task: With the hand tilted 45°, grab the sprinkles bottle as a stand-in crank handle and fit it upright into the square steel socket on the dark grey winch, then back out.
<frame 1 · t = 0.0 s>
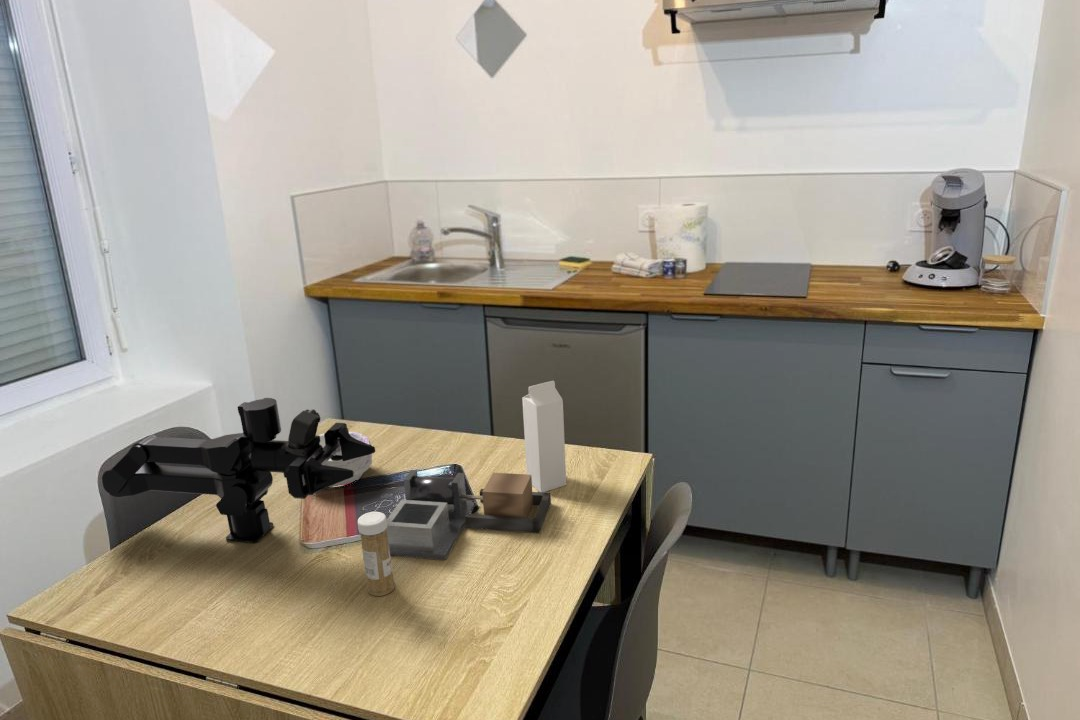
hand: (364, 461, 138), 17 cm above the table, tool horizontal, fingers open, 9 cm apart
milk: (546, 484, 162), on the table
crate bay: (509, 515, 151), on the table
paper bowls: (338, 479, 169), on the table
sprinkles bottle: (381, 589, 131), on the table
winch: (418, 540, 144), on the table
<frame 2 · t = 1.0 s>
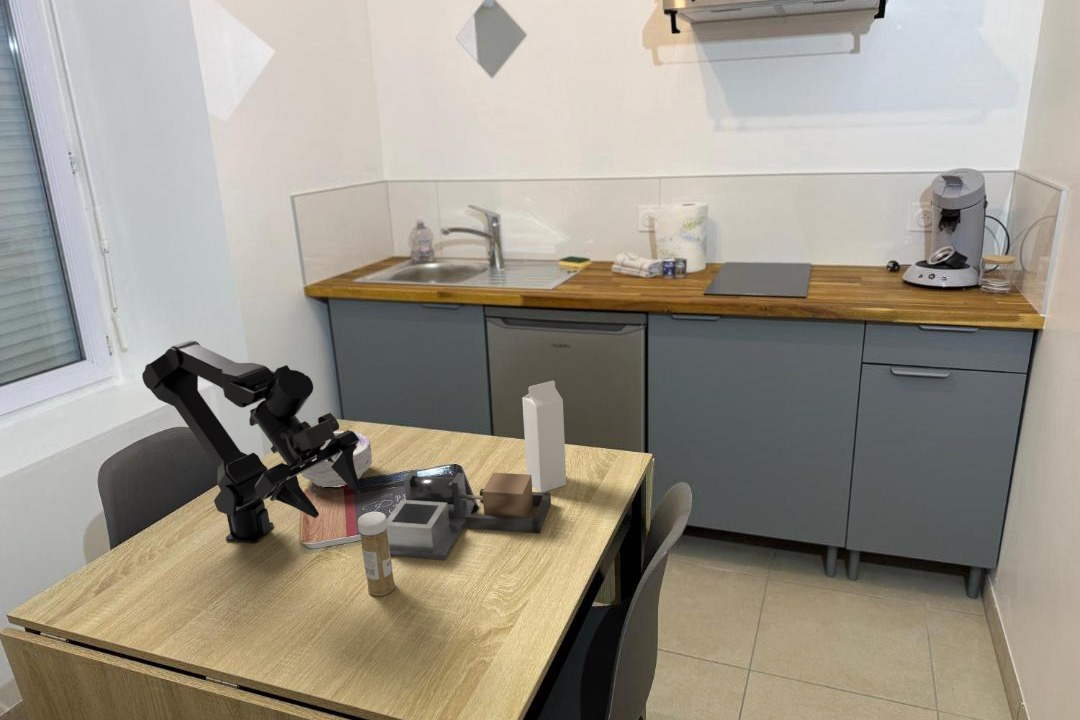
hand: (338, 503, 130), 14 cm above the table, tool tilted 45°, fingers open, 9 cm apart
nothing on the table moved.
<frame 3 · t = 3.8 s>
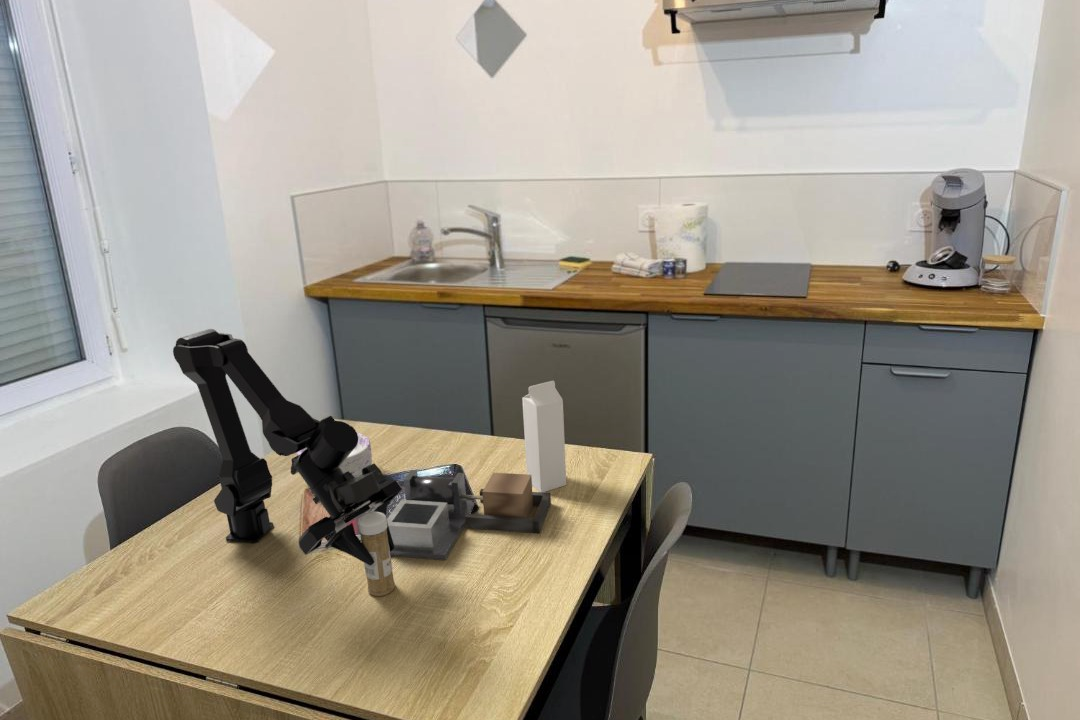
hand: (382, 557, 128), 7 cm above the table, tool tilted 45°, fingers closed on sprinkles bottle, 4 cm apart
sprinkles bottle: (381, 589, 131), on the table, touching gripper
everything else where it was.
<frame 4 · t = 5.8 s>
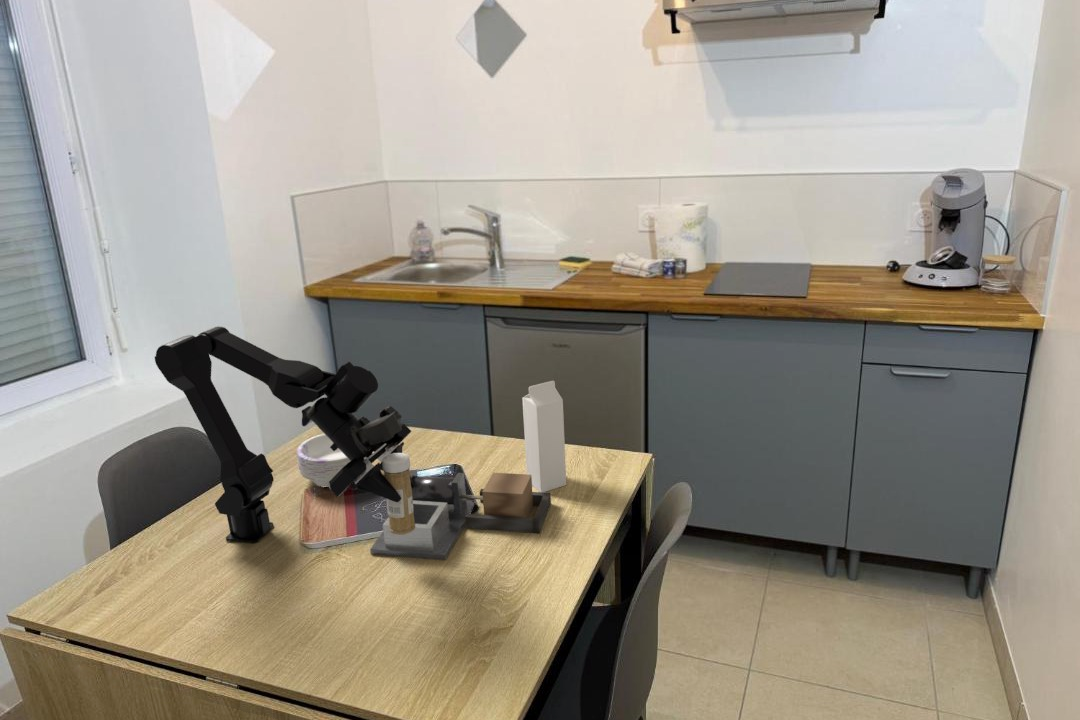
hand: (406, 494, 133), 13 cm above the table, tool tilted 45°, fingers closed on sprinkles bottle, 4 cm apart
sprinkles bottle: (402, 530, 136), point 6 cm above the table, touching gripper
everything else where it was.
when the fingers open (9 cm above the table, at t = 7.6 s): sprinkles bottle drops 1 cm, resting on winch.
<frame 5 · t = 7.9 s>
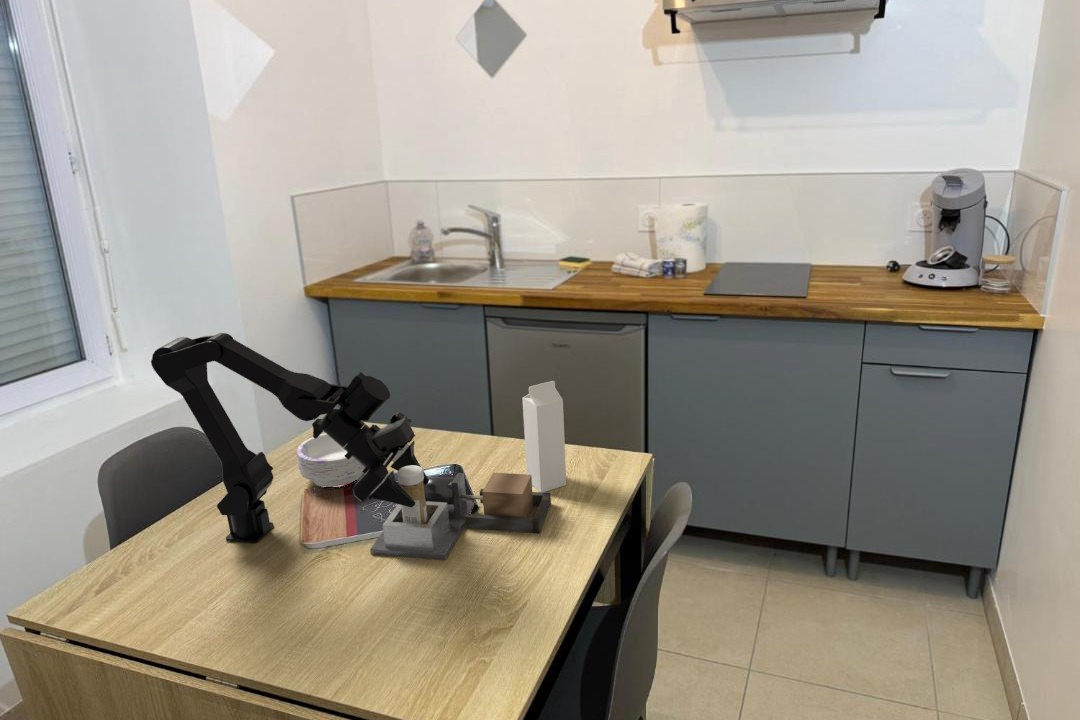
hand: (420, 493, 141), 10 cm above the table, tool tilted 45°, fingers open, 8 cm apart
sprinkles bottle: (417, 537, 143), point 1 cm above the table, touching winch
everything else where it was.
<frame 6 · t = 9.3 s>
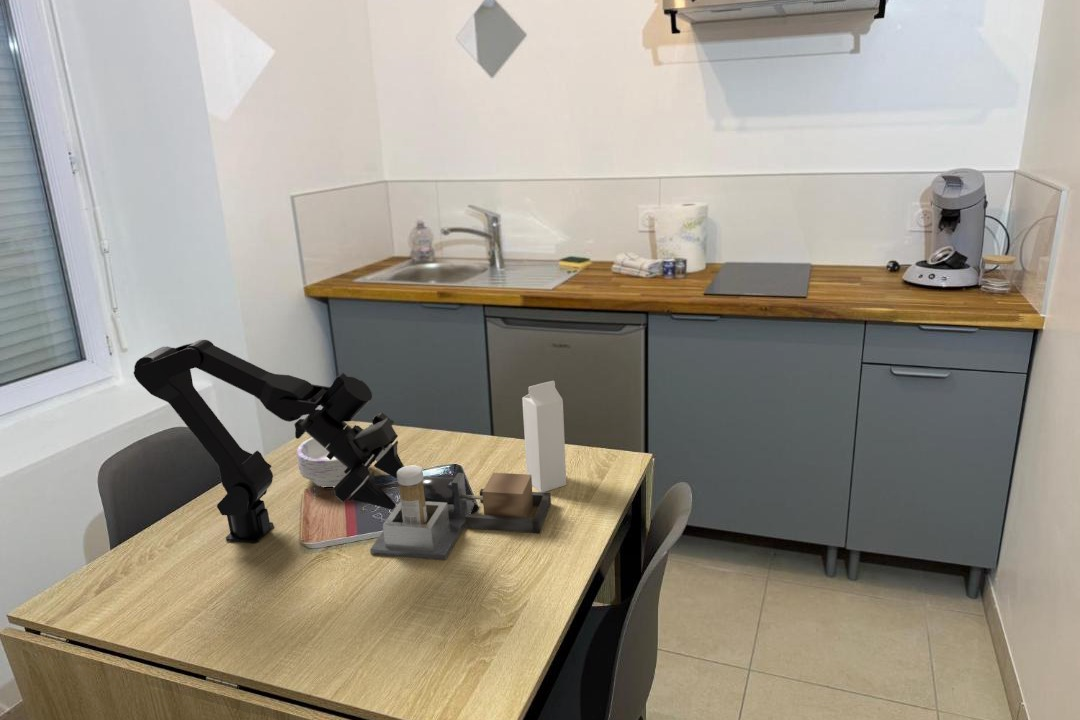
hand: (402, 494, 141), 9 cm above the table, tool tilted 45°, fingers open, 9 cm apart
nothing on the table moved.
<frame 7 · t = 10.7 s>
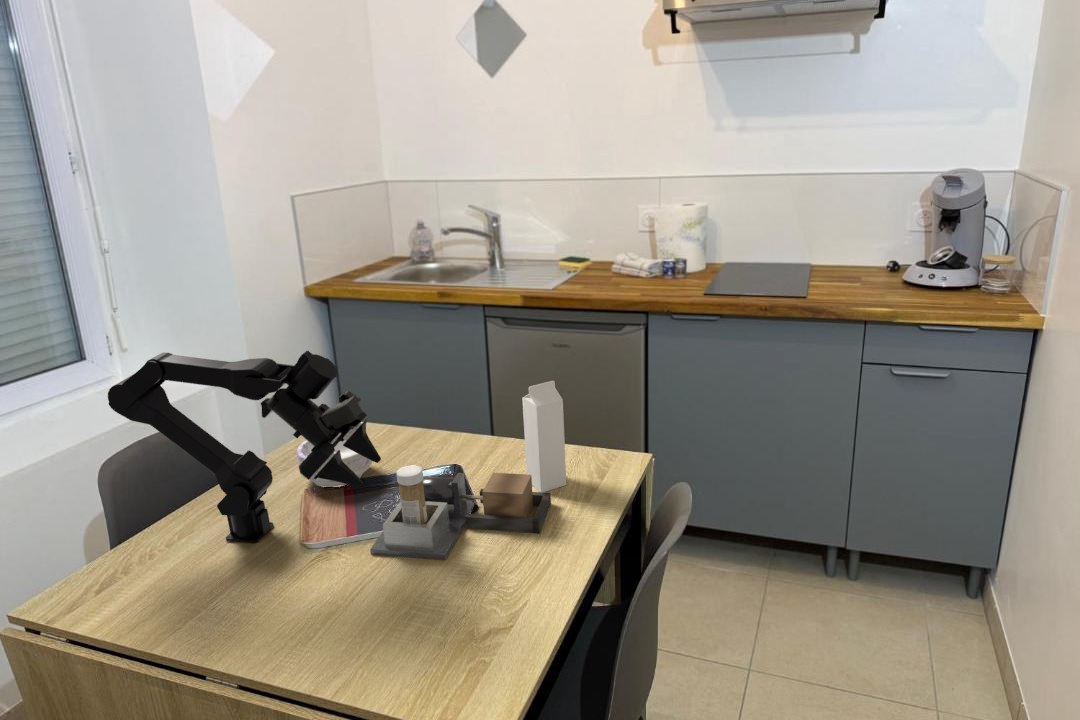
hand: (370, 472, 141), 13 cm above the table, tool tilted 45°, fingers open, 9 cm apart
nothing on the table moved.
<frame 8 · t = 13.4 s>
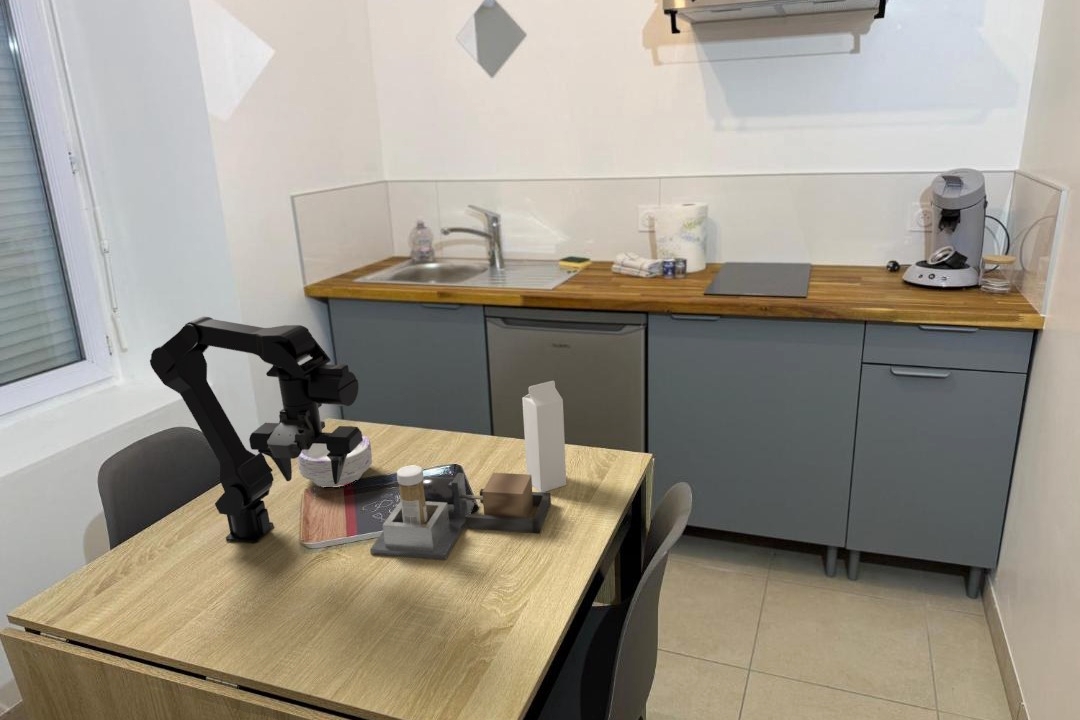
hand: (312, 481, 140), 13 cm above the table, tool pointing down, fingers open, 9 cm apart
nothing on the table moved.
at the end: sprinkles bottle 0.5 cm off-centre on the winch, point 0.8 cm above the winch's base; sprinkles bottle tilted 0°; the gripper is holding nothing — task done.
